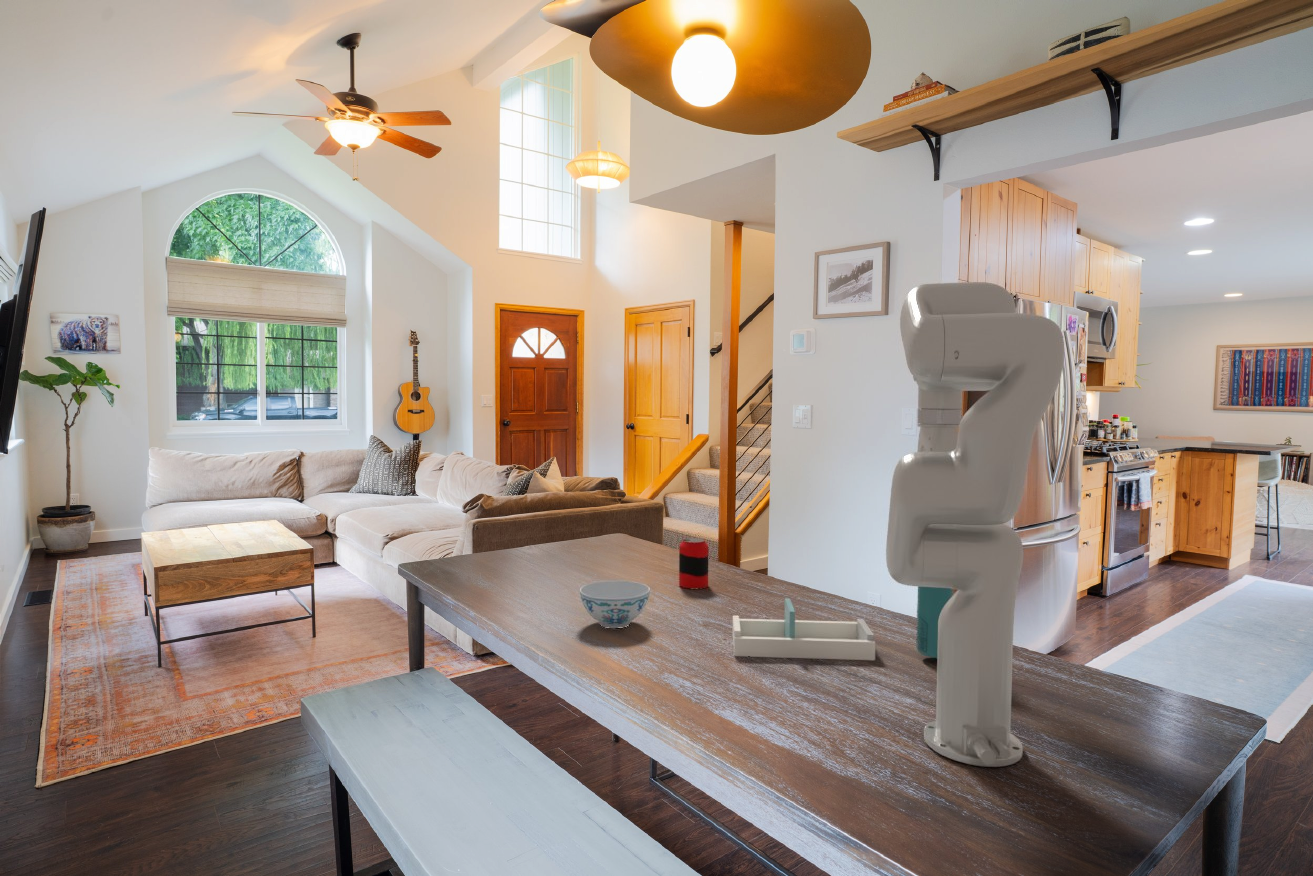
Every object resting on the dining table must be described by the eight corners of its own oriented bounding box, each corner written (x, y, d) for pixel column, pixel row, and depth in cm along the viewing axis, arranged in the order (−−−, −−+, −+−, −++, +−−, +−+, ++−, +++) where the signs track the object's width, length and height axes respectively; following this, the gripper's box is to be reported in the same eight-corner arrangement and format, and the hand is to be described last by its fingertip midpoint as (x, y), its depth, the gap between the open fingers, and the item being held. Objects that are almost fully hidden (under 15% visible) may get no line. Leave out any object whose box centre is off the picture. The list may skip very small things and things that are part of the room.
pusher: (794, 651, 136) (795, 611, 136) (789, 651, 136) (789, 611, 136) (789, 635, 145) (789, 598, 145) (784, 635, 145) (784, 598, 145)
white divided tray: (875, 660, 133) (875, 637, 133) (734, 656, 135) (734, 633, 135) (861, 638, 146) (861, 617, 145) (732, 634, 148) (732, 613, 147)
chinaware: (568, 631, 149) (568, 595, 149) (595, 611, 164) (595, 578, 163) (636, 638, 145) (636, 601, 145) (658, 617, 159) (658, 583, 159)
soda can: (679, 582, 191) (679, 537, 190) (707, 582, 191) (708, 537, 190) (679, 589, 183) (679, 543, 183) (708, 590, 183) (709, 543, 182)
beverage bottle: (956, 667, 130) (959, 558, 129) (917, 664, 131) (920, 556, 130) (949, 655, 136) (951, 550, 135) (912, 652, 138) (914, 549, 137)
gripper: (905, 417, 140) (903, 504, 141) (932, 420, 123) (930, 519, 124) (945, 417, 140) (943, 505, 141) (977, 420, 123) (975, 520, 124)
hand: (937, 511), depth 132 cm, fingers open, 9 cm apart
